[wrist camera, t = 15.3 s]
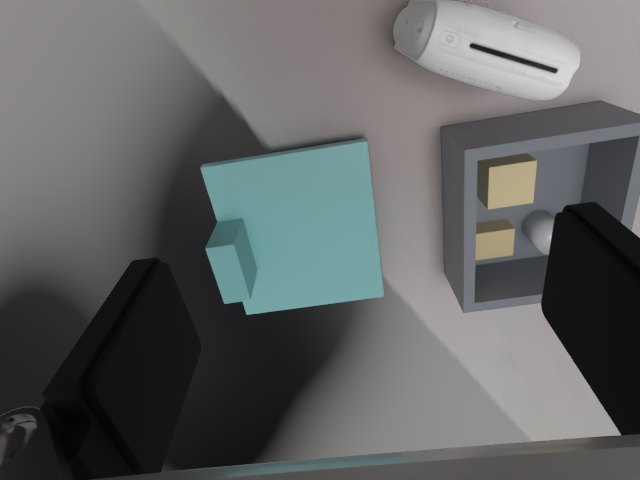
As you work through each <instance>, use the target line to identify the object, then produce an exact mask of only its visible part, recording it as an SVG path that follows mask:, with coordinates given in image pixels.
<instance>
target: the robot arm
mask: <svg viewBox="0 0 640 480" xmlns="http://www.w3.org/2000/svg"><path fill="white" fill-rule="evenodd" d="M541 306H542V311H543V314H544V316H545V318H546V319H547V321H548V323H549V324H550V326H551V327H552V329H553V330H554V332H555V333H556V335H557V336H558V338H559V339H560V341H561V343H562V344H563V346H564V347H565V349H566V350H567V352H568V353H569V355H570V356H571V358H572V359H573V361H574V363H575V364H576V366H577V367H578V369H579V370H580V372H581V373H582V375H583V376H584V378H585V379H586V381H587V383H588V384H589V386H590V387H591V389H592V390H593V392H594V393H595V395H596V396H597V398H598V399H599V401H600V403H601V404H602V406H603V407H604V409H605V410H606V412H607V413H608V415H609V416H610V418H611V419H612V421H613V423H614V424H615V426H616V427H617V429H618V430H619V432H620V433H621V435H620V436H603V437H589V438H576V439H563V440H549V441H536V442H523V443H509V444H496V445H483V446H470V447H457V448H445V449H432V450H419V451H406V452H394V453H381V454H370V455H358V456H346V457H334V458H320V459H308V460H297V461H284V462H272V463H262V464H249V465H238V466H227V467H215V468H203V469H192V470H180V471H169V472H161V470H162V467H163V464H164V461H165V458H166V455H167V452H168V449H169V446H170V443H171V440H172V437H173V434H174V431H175V428H176V425H177V422H178V419H179V416H180V413H181V410H182V407H183V404H184V400H185V398H186V395H187V391H188V389H189V386H190V382H191V380H192V376H193V373H194V370H195V367H196V364H197V361H198V358H199V355H200V351H201V343H200V339H199V336H198V334H197V331H196V329H195V326H194V324H193V322H192V319H191V317H190V315H189V312H188V310H187V307H186V305H185V303H184V300H183V298H182V296H181V293H180V291H179V288H178V286H177V284H176V282H175V279H174V277H173V274H172V272H171V269H170V267H169V265H168V264H167V263H165V262H163V263H162V262H161V260H160V259H158V258H148V259H141V260H135V261H132V262H131V263H130V265H129V266H128V268H127V269H126V271H125V272H124V274H123V275H122V277H121V278H120V280H119V281H118V283H117V284H116V285H115V287H114V288H113V290H112V291H111V293H110V294H109V296H108V297H107V299H106V300H105V302H104V303H103V305H102V306H101V308H100V309H99V311H98V312H97V314H96V315H95V317H94V318H93V319H92V321H91V322H90V324H89V326H88V327H87V328H86V330H85V331H84V333H83V334H82V336H81V337H80V339H79V340H78V342H77V343H76V345H75V346H74V348H73V349H72V350H71V352H70V353H69V355H68V356H67V358H66V359H65V361H64V362H63V364H62V366H61V367H60V368H59V370H58V371H57V373H56V374H55V375H54V377H53V378H52V380H51V381H50V383H49V384H48V386H47V387H46V389H45V390H44V392H43V393H42V395H43V397H44V398H45V399H46V400H45V402H44V403H43V405H42V407H41V408H40V409H38V408H35V407H22V408H19V409H16V410H12V411H10V412H7V413H5V414H3V415H1V416H0V480H640V238H639V237H638V236H636V235H635V234H634V233H633V232H632V231H630V230H629V229H628V228H627V227H626V226H624V225H623V224H622V223H621V222H620V221H618V220H617V219H616V218H615V217H613V216H612V215H611V214H610V213H609V212H607V211H606V210H605V209H604V208H603V207H601V206H600V205H599V204H598V203H596V202H586V203H578V204H571V205H566V206H565V207H564V208H563V210H562V212H558V213H557V214H556V215H555V219H554V224H553V231H552V237H551V243H550V250H549V256H548V262H547V269H546V275H545V281H544V288H543V294H542V300H541Z"/></svg>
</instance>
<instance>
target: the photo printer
mask: <svg viewBox="0 0 640 480" xmlns="http://www.w3.org/2000/svg"><path fill="white" fill-rule="evenodd" d="M393 37H394V41H395V45H394V49H395V50H397V51H398V52H399V53H401V54H402V55H404V56H405V57H407V58H408V59H410V60H412V61H413V62H415V63H417V64H418V65H420V66H422V67H424V68H425V69H427V70H429V71H432V72H434V73H437V74H440V75H443V76H445V77H448V78H451V79H454V80H457V81H460V82H463V83H467V84H470V85H473V86H477V87H480V88H484V89H487V90H491V91H494V92H498V93H502V94H506V95H510V96H514V97H518V98H523V99H528V100H551V99H553V98H555V97H557V96H559V95H560V94H561V93H562V92H563V91H564V90H565V89H566V88H567V87H568V86H569V83H570V80H571V78H572V76H573V74H574V73H575V71H576V70H577V69H578V67H579V64H580V50H579V47H578V46H577V44H576V43H574V42H573V41H572V40H570V39H569V38H568V37H567V36H565V35H563V34H562V33H559V32H557V31H555V30H552V29H550V28H548V27H545V26H542V25H540V24H537V23H534V22H531V21H529V20H526V19H523V18H520V17H517V16H514V15H511V14H507V13H504V12H501V11H497V10H494V9H490V8H487V7H483V6H480V5H476V4H471V3H467V2H460V1H454V0H410V1H409V2H408V5H407V7H405V8H404V9H403V10H402V11H401V12H400V13H399V15H398V16H397V18H396V20H395V23H394V26H393Z"/></svg>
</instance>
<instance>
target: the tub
mask: <svg viewBox="0 0 640 480" xmlns="http://www.w3.org/2000/svg"><path fill="white" fill-rule="evenodd" d="M441 152H442V200H443V247H444V273H445V275H446V277H447V279H448V281H449V283H450V285H451V287H452V290H453V292H454V294H455V296H456V298H457V300H458V302H459V304H460V306H461V309H462V311H463V313H466V312H474V311H482V310H490V309H497V308H505V307H513V306H520V305H528V304H536V303H541V300H542V294H543V288H544V281H545V275H546V269H547V262H548V256H549V250H550V243H551V237H552V231H553V224H554V219H555V215H556V214H557V213H558V212H562V210H563V208H564V207H565V206H566V205H571V204H578V203H586V202H596V203H598V204H599V205H600V206H601V207H603V208H604V209H605V210H606V211H607V212H609V213H610V214H611V215H612V216H613V217H615V218H616V219H617V220H618V221H620V222H621V223H622V224H623V225H624V226H626V227H627V228H628V229H629V230H630V231H631V230H632V225H633V221H634V217H635V212H636V208H637V204H638V199H639V195H640V114H638V113H635V112H632V111H629V110H626V109H623V108H621V107H618V106H615V105H612V104H609V103H606V102H603V101H596V102H590V103H583V104H577V105H571V106H565V107H559V108H552V109H546V110H540V111H534V112H528V113H522V114H515V115H509V116H503V117H497V118H491V119H485V120H478V121H472V122H466V123H460V124H454V125H447V126H441Z"/></svg>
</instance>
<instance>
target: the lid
mask: <svg viewBox="0 0 640 480" xmlns="http://www.w3.org/2000/svg"><path fill="white" fill-rule="evenodd" d="M201 172H202V175H203V178H204V181H205V184H206V187H207V191H208V194H209V197H210V200H211V203H212V206H213V210H214V213H215V216H216V219H217V224H216V226H215V229H214V231H213V233H212V235H211V237H210V240H209V242H208V244H207V246H206V252H207V255H208V258H209V260H210V263H211V266H212V269H213V272H214V275H215V278H216V281H217V284H218V287H219V290H220V292H221V295H222V298H223V301H224V304H226V303H234V302H241V301H243V304H244V308H245V311H246V314H247V315H249V314H256V313H264V312H271V311H279V310H286V309H293V308H301V307H309V306H316V305H324V304H331V303H339V302H346V301H354V300H361V299H369V298H376V297H383V296H384V292H383V283H382V274H381V264H380V255H379V246H378V237H377V227H376V218H375V209H374V200H373V190H372V181H371V172H370V163H369V153H368V144H367V139H366V138H363V139H356V140H350V141H344V142H338V143H332V144H325V145H319V146H313V147H307V148H301V149H294V150H288V151H282V152H276V153H269V154H263V155H257V156H251V157H245V158H238V159H232V160H226V161H220V162H214V163H208V164H203V165H202V166H201Z"/></svg>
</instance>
